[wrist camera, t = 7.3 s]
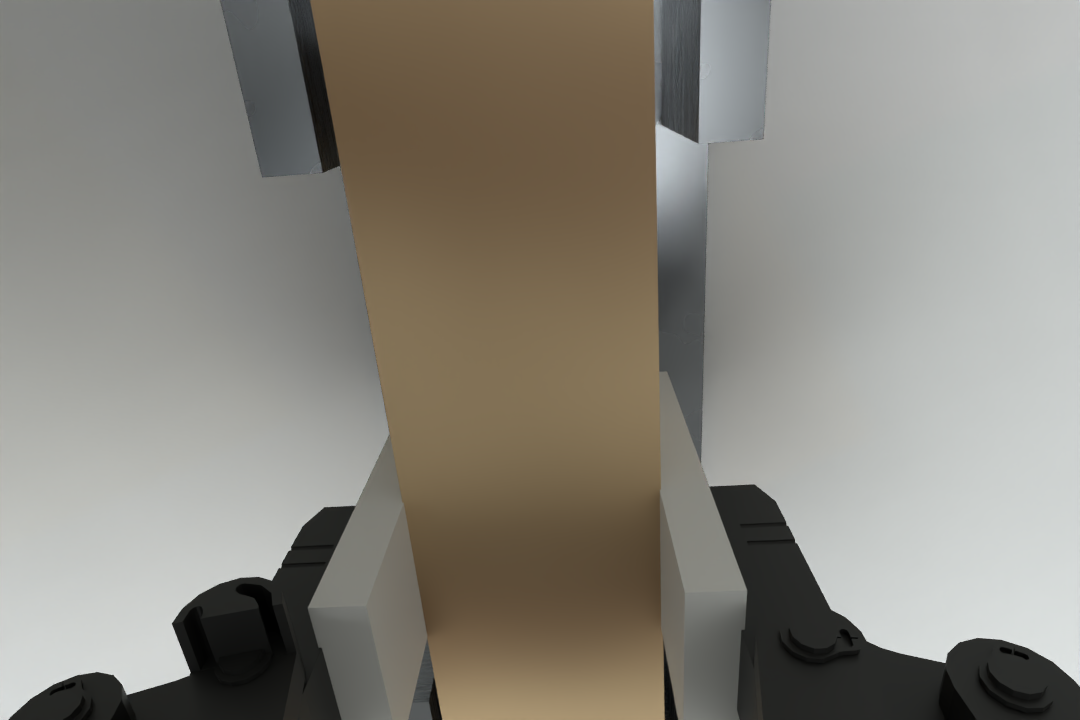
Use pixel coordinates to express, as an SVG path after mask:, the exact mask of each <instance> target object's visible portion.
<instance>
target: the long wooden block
mask: <svg viewBox="0 0 1080 720" xmlns="http://www.w3.org/2000/svg"><path fill="white" fill-rule="evenodd" d="M310 2H311V7H312V13H313V18H314V23H315V29H316V34H317V40H318V45H319V51H320V56H321V62H322V67H323V72H324V78H325V83H326V89H327V94H328V100H329V105H330V111H331V116H332V121H333V127H334V132H335V138H336V143H337V149H338V154H339V160H340V165H341V171H342V176H343V181H344V187H345V192H346V198H347V203H348V209H349V214H350V220H351V225H352V230H353V236H354V241H355V247H356V252H357V258H358V263H359V269H360V274H361V280H362V285H363V290H364V296H365V301H366V307H367V312H368V318H369V323H370V329H371V334H372V339H373V345H374V350H375V356H376V361H377V367H378V372H379V378H380V383H381V388H382V394H383V399H384V405H385V410H386V416H387V421H388V427H389V432H390V438H391V443H392V448H393V454H394V459H395V465H396V470H397V476H398V481H399V487H400V492H401V497H402V503H404V507H405V513H406V519H407V524H408V530H409V535H410V541H411V547H412V552H413V558H414V564H415V569H416V575H417V581H418V586H419V592H420V598H421V603H422V609H423V615H424V620H425V626H426V632H427V639H428V645H429V650H430V655H431V661H432V666H433V672H434V677H435V683H436V688H437V694H438V699H439V705H440V710H441V715H442V720H665V716H664V651H663V635H662V630H661V563H660V490H661V455H660V390H659V325H658V260H657V195H656V130H655V65H654V0H310Z"/></svg>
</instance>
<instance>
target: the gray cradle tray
mask: <svg viewBox="0 0 1080 720" xmlns="http://www.w3.org/2000/svg"><path fill="white" fill-rule="evenodd" d="M220 1H221V6H222V10H223V14H224V18H225V23H226V27H227V31H228V35H229V39H230V44H231V48H232V52H233V56H234V61H235V65H236V69H237V73H238V78H239V82H240V86H241V90H242V94H243V99H244V103H245V107H246V111H247V116H248V120H249V124H250V128H251V133H252V137H253V141H254V145H255V150H256V154H257V158H258V162H259V166H260V171H261V175H262V177H274V176H287V175H300V174H313V173H323V172H326V171H328V170H330V169H333V168H335V167H337V166H340V168H341V165H340V160H339V154H338V149H337V143H336V138H335V132H334V127H333V121H332V116H331V111H330V105H329V100H328V94H327V89H326V83H325V78H324V72H323V67H322V62H321V56H320V51H319V45H318V40H317V34H316V29H315V23H314V18H313V13H312V7H311V2H310V0H220ZM770 9H771V0H654V65H655V130H656V195H657V260H658V325H659V372H664V371H667V373H668V375H669V378H670V381H671V384H672V386H673V389H674V392H675V395H676V397H677V400H678V403H679V405H680V408H681V411H682V414H683V416H684V419H685V422H686V425H687V427H688V430H689V433H690V436H691V438H692V441H693V444H694V446H695V449H696V452H697V455H698V457H699V460H700V463H701V437H702V395H703V353H704V311H705V269H706V227H707V185H708V143H718V142H731V141H744V140H757V139H763V136H764V118H765V100H766V82H767V64H768V46H769V27H770ZM341 174H342V171H341ZM342 179H343V176H342ZM343 184H344V181H343ZM344 190H345V187H344ZM345 195H346V192H345ZM346 200H347V198H346ZM347 205H348V203H347ZM348 211H349V209H348ZM349 216H350V214H349ZM350 221H351V220H350ZM351 227H352V225H351ZM352 232H353V230H352ZM353 237H354V236H353ZM354 242H355V241H354ZM355 248H356V247H355ZM356 253H357V252H356ZM663 651H664V716H665V720H678V716H677V711H676V705H675V700H674V694H673V689H672V684H671V678H670V673H669V667H668V662H667V657H666V651H665V646H664V640H663ZM408 720H442V715H441V710H440V705H439V699H438V694H437V688H436V683H435V677H434V672H433V666H432V661H431V655H430V650H429V645H428V639H427V641H426V645H425V650H424V654H423V658H422V663H421V667H420V671H419V675H418V680H417V684H416V688H415V693H414V697H413V701H412V705H411V710H410V714H409V718H408Z"/></svg>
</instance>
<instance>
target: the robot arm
mask: <svg viewBox="0 0 1080 720" xmlns="http://www.w3.org/2000/svg"><path fill="white" fill-rule="evenodd" d="M659 390H660V455H661V490H660V563H661V630H662V635H663V640H664V646H665V651H666V657H667V662H668V667H669V673H670V678H671V684H672V689H673V694H674V700H675V705H676V711H677V716H678V720H739V719H740V720H1080V687H1079V686H1078V684H1077V683H1076V682H1075V681H1074V680H1073V679H1072V678H1071V677H1069V676H1068V675H1067V674H1066V673H1065V672H1064V671H1063V670H1061V669H1060V668H1059V667H1058V666H1057V665H1056V664H1054V663H1053V662H1052V661H1050V660H1048V659H1046V658H1044V657H1043V656H1041V655H1039V654H1037V653H1035V652H1033V651H1032V650H1030V649H1028V648H1025V647H1022V646H1019V645H1016V644H1013V643H1009V642H1006V641H1003V640H996V639H983V638H976V639H972V640H968V641H964V642H960V643H958V644H957V645H956V646H955V647H954V648H953V649H952V650H951V651H950V652H949V653H948V655H947V660H946V663H942V662H937V661H932V660H928V659H923V658H918V657H914V656H909V655H904V654H900V653H896V652H893V651H889V650H886V649H883V648H880V647H878V646H876V645H873V644H871V643H869V642H867V641H866V640H865V638H864V636H863V634H862V632H861V631H860V630H859V629H858V628H857V627H856V626H854V625H853V624H852V623H851V622H850V621H849V620H848V619H847V618H846V617H844V616H842V615H840V614H838V613H836V612H834V611H832V610H831V609H830V607H829V605H828V603H827V601H826V599H825V597H824V595H823V593H822V592H821V590H820V588H819V586H818V584H817V582H816V580H815V578H814V576H813V574H812V572H811V570H810V568H809V566H808V564H807V562H806V560H805V558H804V556H803V554H802V552H801V550H800V548H799V546H798V544H797V543H796V544H795V539H794V537H793V535H792V533H791V531H790V529H789V527H788V526H786V521H785V519H784V517H783V515H782V513H781V511H780V509H779V507H778V505H777V503H776V501H774V500H773V499H772V498H771V497H769V496H768V495H767V494H766V493H764V492H763V491H762V490H761V489H760V488H758V487H757V486H756V485H735V486H714V487H709V485H708V482H707V479H706V477H705V474H704V471H703V468H702V466H701V463H700V460H699V457H698V455H697V452H696V449H695V446H694V444H693V441H692V438H691V436H690V433H689V430H688V427H687V425H686V422H685V419H684V416H683V414H682V411H681V408H680V405H679V403H678V400H677V397H676V395H675V392H674V389H673V386H672V384H671V381H670V378H669V375H668V373H667V371H664V372H659ZM172 625H173V628H174V630H175V633H176V635H177V638H178V641H179V643H180V646H181V648H182V651H183V654H184V656H185V659H186V661H187V664H188V667H189V669H190V672H191V673H190V676H187V677H185V678H182V679H179V680H177V681H174V682H170V683H167V684H164V685H160V686H157V687H153V688H150V689H146V690H143V691H140V692H136V693H133V694H129V695H126V693H125V691H124V688H123V686H122V684H121V683H120V682H119V681H118V680H117V679H116V678H115V677H114V675H109V674H104V673H99V672H96V673H89V674H83V675H77V676H74V677H72V678H69V679H67V680H64V681H62V682H59V683H57V684H54V685H52V686H51V687H49V688H48V689H46V690H44V691H43V692H41V693H40V694H38V695H36V696H35V697H33V698H32V699H30V700H29V701H28V702H27V703H26V704H25V705H24V706H22V707H21V708H20V709H19V710H18V711H17V712H16V713H15V714H14V715H13V716H11V717H10V719H9V720H408V718H409V714H410V710H411V705H412V701H413V697H414V693H415V688H416V684H417V680H418V675H419V671H420V667H421V663H422V658H423V654H424V650H425V645H426V641H427V632H426V626H425V620H424V615H423V609H422V603H421V598H420V592H419V586H418V581H417V575H416V569H415V564H414V558H413V552H412V547H411V541H410V535H409V530H408V524H407V519H406V513H405V507H404V503H402V497H401V492H400V487H399V481H398V476H397V470H396V465H395V459H394V454H393V448H392V443H391V438H390V434H389V437H388V439H387V441H386V443H385V445H384V447H383V449H382V451H381V454H380V456H379V458H378V460H377V462H376V464H375V466H374V468H373V471H372V473H371V475H370V477H369V479H368V481H367V483H366V485H365V488H364V490H363V492H362V494H361V496H360V498H359V500H358V502H357V504H356V506H344V507H324V508H323V509H322V510H321V511H320V512H319V513H318V514H316V515H315V516H314V517H313V518H312V519H311V520H309V521H308V522H307V523H306V524H305V525H304V526H303V527H302V529H301V531H300V532H299V534H298V536H297V538H296V539H295V541H294V543H293V545H292V546H291V551H289V552H288V553H287V555H286V557H285V559H284V560H283V562H282V567H281V568H279V569H278V571H277V573H276V575H275V576H274V578H273V580H272V581H271V580H267V579H264V578H260V577H251V578H239V579H235V580H232V581H228V582H225V583H221V584H219V585H217V586H215V587H213V588H211V589H209V590H207V591H205V592H203V593H201V594H199V595H198V596H197V597H196V598H195V599H193V600H192V601H191V602H190V603H189V604H187V605H186V606H185V607H184V608H183V609H182V610H181V611H180V613H179V614H178V616H177V617H176V619H175V620H174V621H173V623H172Z"/></svg>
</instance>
